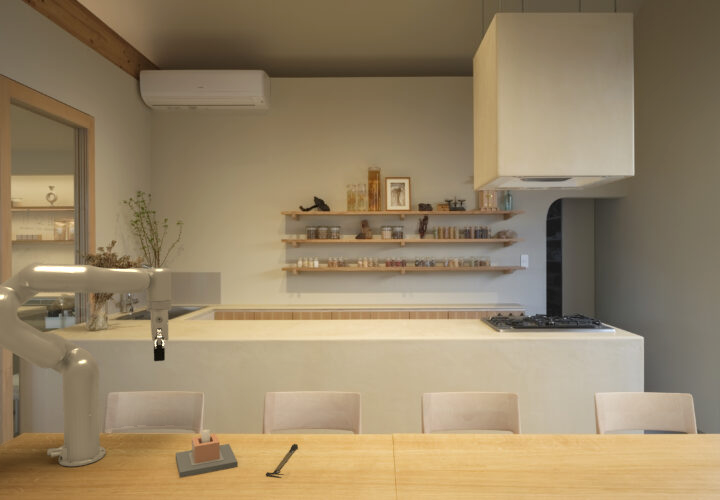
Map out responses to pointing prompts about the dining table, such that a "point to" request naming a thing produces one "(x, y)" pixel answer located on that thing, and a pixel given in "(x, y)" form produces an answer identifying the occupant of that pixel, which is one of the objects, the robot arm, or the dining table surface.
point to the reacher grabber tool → (283, 462)
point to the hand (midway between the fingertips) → (159, 357)
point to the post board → (192, 468)
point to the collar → (205, 449)
